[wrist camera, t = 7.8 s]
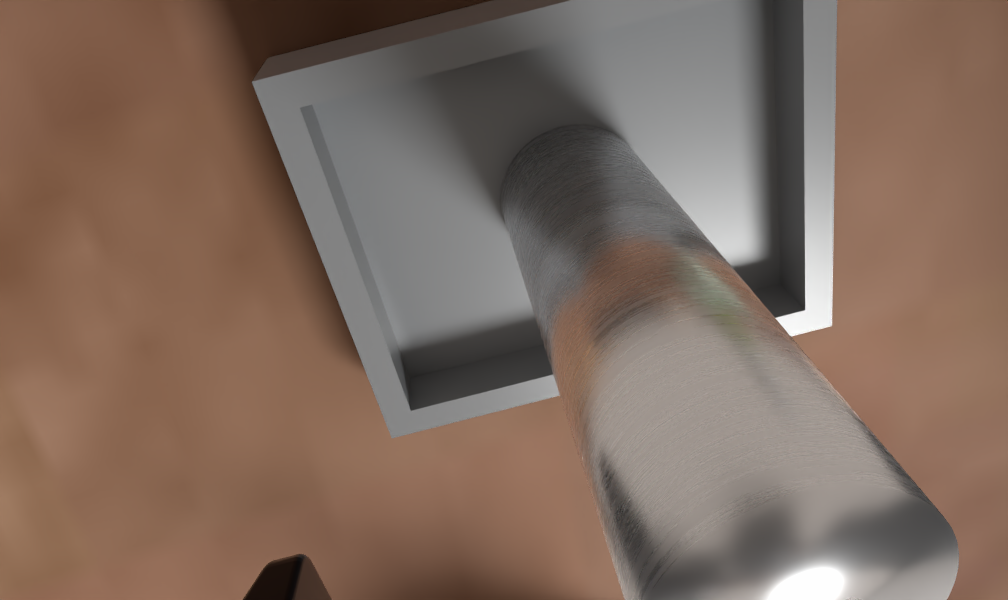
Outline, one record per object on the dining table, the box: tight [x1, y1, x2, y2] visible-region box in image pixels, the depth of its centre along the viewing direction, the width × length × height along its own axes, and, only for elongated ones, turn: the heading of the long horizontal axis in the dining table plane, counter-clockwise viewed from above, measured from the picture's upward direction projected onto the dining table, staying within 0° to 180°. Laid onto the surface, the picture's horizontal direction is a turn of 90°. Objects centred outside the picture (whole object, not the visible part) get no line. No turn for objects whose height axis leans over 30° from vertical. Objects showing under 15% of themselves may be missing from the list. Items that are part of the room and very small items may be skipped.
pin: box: [501, 124, 959, 600], centre depth 11 cm, size 3×3×10 cm
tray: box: [252, 0, 837, 438], centre depth 15 cm, size 10×8×2 cm
